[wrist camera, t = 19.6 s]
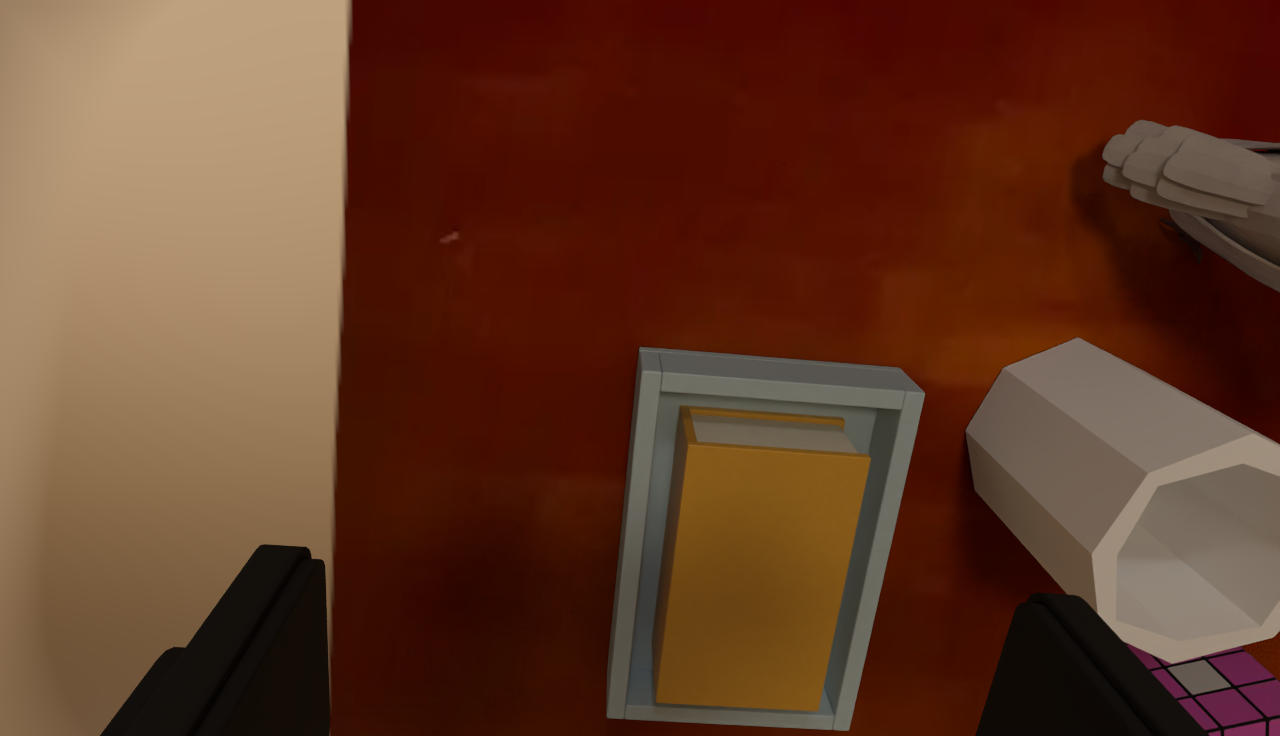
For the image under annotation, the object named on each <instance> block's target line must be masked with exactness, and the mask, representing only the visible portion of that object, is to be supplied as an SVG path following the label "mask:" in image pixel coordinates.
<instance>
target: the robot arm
mask: <svg viewBox="0 0 1280 736" xmlns="http://www.w3.org/2000/svg"><path fill="white" fill-rule="evenodd" d="M325 578H326V576H325V564H324V561H323V560H321V559H312V558H311V553H310V550H309V549H308V548H307V547H296V546H281V545H260V546H259V547H258V548H257V549H256V551H255V552H254V553H253V555H252V556H251V558H250V559H249V560H248V562H247V563H246V564H245V566H244V567H243V568H242V570H241V571H240V573H239V574H238V575H237V577H236V578H235V580H234V581H233V582H232V584H231V585H230V587H229V588H228V590H227V591H226V592H225V594H224V595H223V596H222V598H221V599H220V601H219V602H218V603H217V605H216V606H215V608H214V609H213V610H212V612H211V613H210V615H209V616H208V617H207V619H206V620H205V621H204V623H203V624H202V626H201V627H200V628H199V630H198V631H197V633H196V634H195V635H194V637H193V638H192V640H191V641H190V643H189V644H188V645H187V647H186V648H181V647H173V648H171V649H169V650H166V651H165V652H164V653H163V654H162V655H161V656H160V657H159V658H158V660H157V661H156V662H155V663H154V665H153V666H152V667H151V669H150V670H149V671H148V673H147V674H146V675H145V676H144V678H143V679H142V680H141V682H140V683H139V685H138V686H137V687H136V688H135V690H134V691H133V693H132V694H131V695H130V697H129V698H128V699H127V700H126V702H125V703H124V704H123V706H122V707H121V709H120V710H119V711H118V712H117V714H116V715H115V716H114V718H113V719H112V720H111V722H110V723H109V724H108V726H107V727H106V728H105V730H104V731H103V732H102V734H101V735H100V736H329V731H330V703H329V671H328V639H327V608H326V579H325ZM976 736H1210V735H1209V734H1208V733H1207V732H1206V731H1205V730H1204V729H1203V728H1202V727H1201V725H1200V724H1199V723H1198V722H1197V721H1196V720H1195V719H1194V718H1193V717H1192V716H1191V715H1190V713H1189V712H1188V711H1187V710H1186V709H1185V708H1184V707H1183V706H1182V705H1181V704H1180V703H1179V702H1178V700H1177V699H1176V698H1175V697H1174V696H1173V695H1172V694H1171V693H1170V692H1169V691H1168V690H1167V689H1166V687H1165V686H1164V685H1163V684H1162V683H1161V682H1160V681H1159V680H1158V679H1157V678H1156V677H1155V676H1154V674H1153V673H1152V672H1151V671H1150V670H1149V669H1148V668H1147V667H1146V666H1145V665H1144V664H1143V663H1142V661H1141V660H1140V659H1139V658H1138V657H1137V656H1136V655H1135V654H1134V653H1133V652H1132V651H1131V650H1130V648H1129V647H1128V646H1127V645H1126V644H1125V643H1124V642H1123V641H1122V640H1121V639H1120V638H1119V637H1118V635H1117V634H1116V633H1115V632H1114V631H1113V630H1112V629H1111V628H1110V627H1109V626H1108V625H1107V624H1106V622H1105V621H1104V620H1103V619H1102V618H1101V617H1100V616H1099V615H1098V614H1097V613H1096V612H1095V611H1094V609H1093V608H1092V607H1091V606H1090V605H1089V604H1088V603H1087V602H1086V601H1085V600H1084V599H1082V598H1081V597H1080V596H1076V595H1067V594H1051V593H1035V594H1032V595H1031V596H1030V597H1029V598H1028V599H1027V602H1026V603H1020V604H1019V605H1018V606H1017V608H1016V610H1015V612H1014V615H1013V618H1012V621H1011V624H1010V628H1009V631H1008V634H1007V637H1006V640H1005V643H1004V647H1003V650H1002V653H1001V656H1000V659H999V663H998V666H997V669H996V672H995V675H994V678H993V682H992V685H991V688H990V691H989V694H988V697H987V701H986V704H985V707H984V710H983V713H982V716H981V720H980V723H979V726H978V729H977V732H976Z"/></svg>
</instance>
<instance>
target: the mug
mask: <svg viewBox="0 0 1280 736" xmlns="http://www.w3.org/2000/svg"><path fill="white" fill-rule="evenodd" d="M965 431H966V438H967V444H968V450H969V457H970V463H971V470H972V476H973V482H974V489H975V491H976V492H977V493H978V494H979V496H980V497H981V498H982V499H983V500H984V501H985V502H986V503H987V505H988V506H989V507H990V508H991V509H992V510H993V511H994V512H995V514H996V515H997V516H998V517H999V518H1000V519H1001V520H1002V521H1003V523H1004V524H1005V525H1006V526H1007V527H1008V528H1009V529H1010V530H1011V532H1012V533H1013V534H1014V535H1015V536H1016V537H1017V538H1018V539H1019V541H1020V542H1021V543H1022V544H1023V545H1024V546H1025V547H1026V548H1027V550H1028V551H1029V552H1030V553H1031V554H1032V555H1033V556H1034V557H1035V559H1036V560H1037V561H1038V562H1039V563H1040V564H1041V565H1042V566H1043V568H1044V569H1045V570H1046V571H1047V572H1048V573H1049V574H1050V575H1051V577H1052V578H1053V579H1054V580H1055V581H1056V582H1057V583H1058V584H1059V585H1060V587H1061V588H1062V589H1063V590H1064V591H1065V592H1066V593H1067V594H1068V595H1076V596H1080V597H1081V598H1082V599H1084V600H1085V601H1086V602H1087V603H1088V604H1089V605H1090V606H1091V607H1092V608H1093V609H1094V611H1095V612H1096V613H1097V614H1098V615H1099V616H1100V617H1101V618H1102V619H1103V620H1104V621H1105V622H1106V624H1107V625H1108V626H1109V627H1110V628H1111V629H1112V630H1113V631H1114V632H1115V633H1116V634H1117V635H1118V637H1119V638H1120V639H1121V640H1122V641H1124V642H1126V643H1128V644H1130V645H1132V646H1134V647H1137V648H1139V649H1141V650H1143V651H1145V652H1147V653H1150V654H1152V655H1154V656H1156V657H1158V658H1161V659H1163V660H1165V661H1167V662H1169V663H1171V664H1173V663H1177V662H1181V661H1185V660H1189V659H1192V658H1196V657H1200V656H1204V655H1208V654H1212V653H1215V652H1219V651H1223V650H1227V649H1231V648H1235V647H1238V646H1242V645H1246V644H1250V643H1254V642H1258V641H1262V640H1265V639H1269V638H1273V637H1274V636H1275V635H1276V634H1277V633H1278V632H1279V631H1280V444H1278V443H1276V442H1274V441H1273V440H1271V439H1269V438H1267V437H1265V436H1263V435H1261V434H1260V433H1258V432H1256V431H1254V430H1252V429H1250V428H1249V427H1247V426H1245V425H1243V424H1241V423H1239V422H1237V421H1236V420H1234V419H1232V418H1230V417H1228V416H1226V415H1224V414H1223V413H1221V412H1219V411H1217V410H1215V409H1213V408H1212V407H1210V406H1208V405H1206V404H1204V403H1202V402H1200V401H1199V400H1197V399H1195V398H1193V397H1191V396H1189V395H1188V394H1186V393H1184V392H1182V391H1180V390H1178V389H1176V388H1175V387H1173V386H1171V385H1169V384H1167V383H1165V382H1163V381H1162V380H1160V379H1158V378H1156V377H1154V376H1152V375H1151V374H1149V373H1147V372H1145V371H1143V370H1141V369H1139V368H1137V367H1135V366H1133V365H1131V364H1129V363H1127V362H1125V361H1124V360H1122V359H1120V358H1118V357H1116V356H1114V355H1112V354H1110V353H1108V352H1106V351H1104V350H1102V349H1100V348H1098V347H1096V346H1094V345H1092V344H1090V343H1088V342H1086V341H1084V340H1082V339H1080V338H1075V339H1073V340H1071V341H1068V342H1066V343H1063V344H1061V345H1058V346H1056V347H1053V348H1051V349H1048V350H1046V351H1043V352H1041V353H1039V354H1036V355H1034V356H1031V357H1029V358H1026V359H1024V360H1021V361H1019V362H1016V363H1014V364H1011V365H1009V366H1007V367H1004V368H1003V369H1002V371H1001V372H1000V374H999V376H998V377H997V379H996V381H995V382H994V384H993V386H992V387H991V389H990V391H989V392H988V394H987V395H986V397H985V399H984V400H983V402H982V404H981V405H980V407H979V409H978V410H977V412H976V413H975V415H974V417H973V418H972V420H971V422H970V423H969V425H968V427H967V428H966V430H965Z"/></svg>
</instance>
